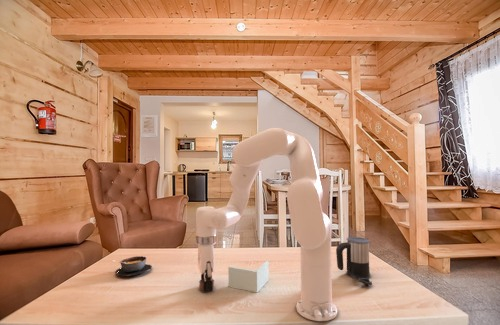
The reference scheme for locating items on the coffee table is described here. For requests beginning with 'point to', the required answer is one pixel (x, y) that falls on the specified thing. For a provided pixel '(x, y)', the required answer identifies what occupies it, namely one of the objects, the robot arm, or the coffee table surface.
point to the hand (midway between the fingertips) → (206, 287)
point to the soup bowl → (133, 266)
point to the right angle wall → (248, 277)
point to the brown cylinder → (201, 285)
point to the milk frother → (355, 258)
